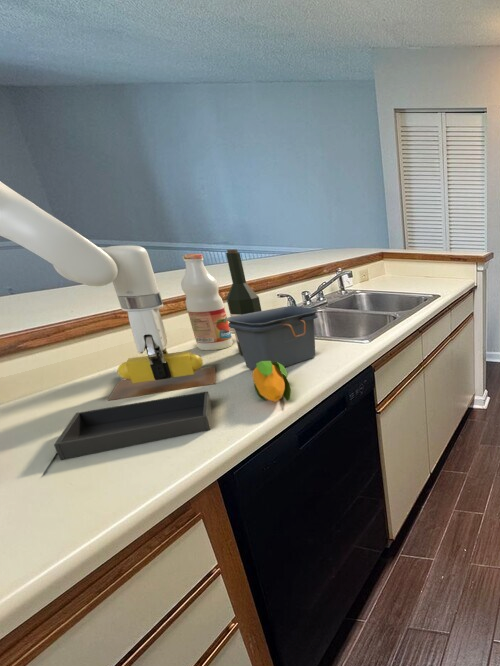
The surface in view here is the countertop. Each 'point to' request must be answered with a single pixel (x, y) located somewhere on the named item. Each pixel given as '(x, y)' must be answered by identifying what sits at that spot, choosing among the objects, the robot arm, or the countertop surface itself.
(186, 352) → the yellow rounded-end bar
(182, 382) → the board
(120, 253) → the robot arm
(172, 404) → the tray
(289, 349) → the storage bin
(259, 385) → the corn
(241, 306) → the wine bottle
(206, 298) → the fruit juice
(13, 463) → the countertop surface
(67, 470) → the countertop surface
